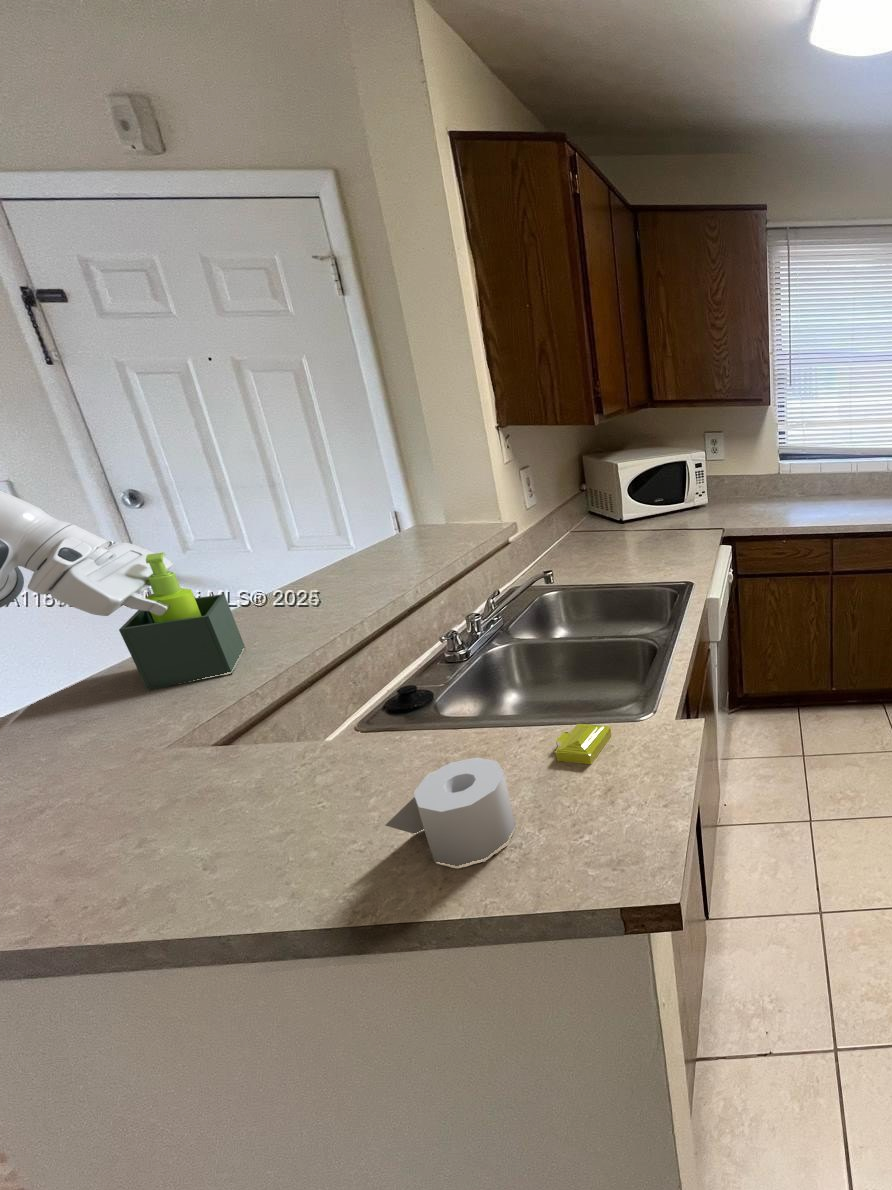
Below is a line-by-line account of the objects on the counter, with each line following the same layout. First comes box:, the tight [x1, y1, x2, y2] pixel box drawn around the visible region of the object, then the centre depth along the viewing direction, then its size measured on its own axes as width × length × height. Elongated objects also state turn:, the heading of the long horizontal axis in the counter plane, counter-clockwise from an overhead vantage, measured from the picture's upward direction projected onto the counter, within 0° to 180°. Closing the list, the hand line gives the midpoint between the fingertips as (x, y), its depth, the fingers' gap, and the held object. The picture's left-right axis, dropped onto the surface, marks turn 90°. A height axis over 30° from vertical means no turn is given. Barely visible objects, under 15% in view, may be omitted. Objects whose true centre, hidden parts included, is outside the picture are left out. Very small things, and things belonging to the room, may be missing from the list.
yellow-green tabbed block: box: [546, 723, 626, 765], centre depth 91 cm, size 10×9×3 cm
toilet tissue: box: [384, 756, 517, 866], centre depth 73 cm, size 9×13×9 cm
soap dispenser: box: [145, 551, 201, 623], centre depth 107 cm, size 6×7×20 cm
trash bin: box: [118, 593, 245, 691], centre depth 109 cm, size 11×11×12 cm
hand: (175, 603), depth 107 cm, fingers closed on soap dispenser, 6 cm apart
